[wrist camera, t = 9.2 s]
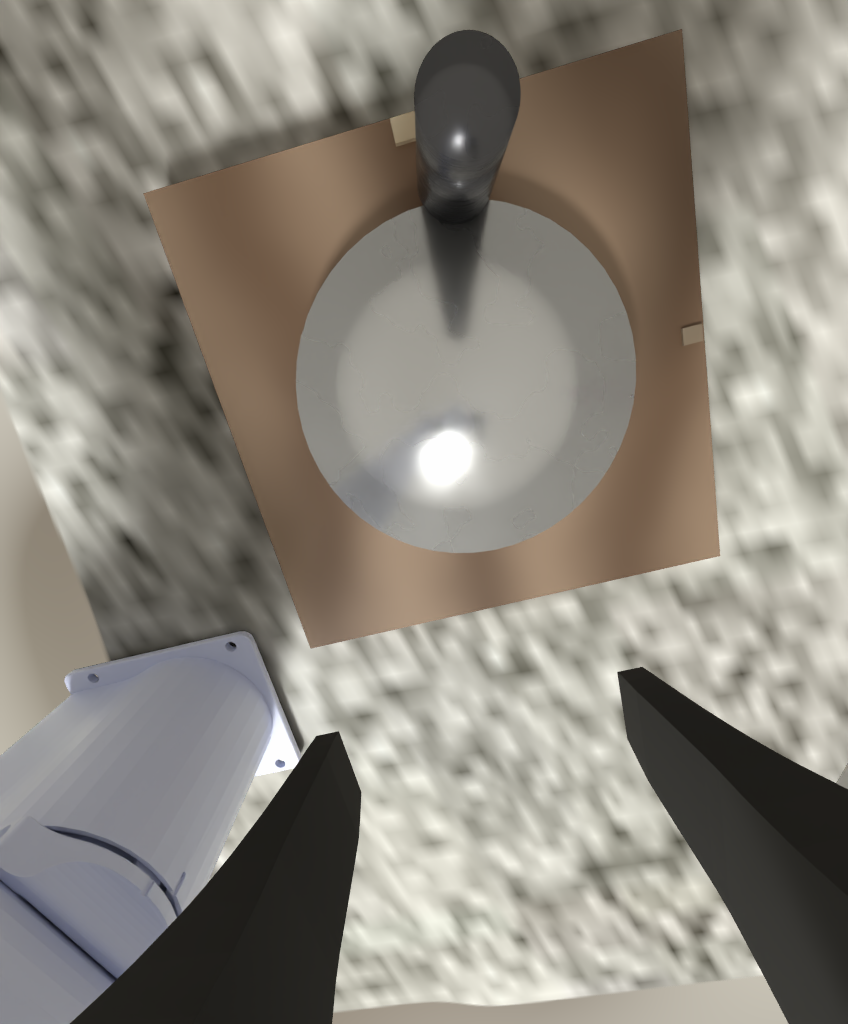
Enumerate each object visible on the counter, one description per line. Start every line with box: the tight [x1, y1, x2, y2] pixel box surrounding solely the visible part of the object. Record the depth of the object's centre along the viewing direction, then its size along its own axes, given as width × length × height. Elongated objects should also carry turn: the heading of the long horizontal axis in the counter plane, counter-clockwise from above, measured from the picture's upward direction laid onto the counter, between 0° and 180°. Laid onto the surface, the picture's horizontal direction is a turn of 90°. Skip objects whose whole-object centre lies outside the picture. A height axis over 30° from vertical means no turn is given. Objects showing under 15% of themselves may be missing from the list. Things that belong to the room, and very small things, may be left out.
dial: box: [296, 30, 636, 553], centre depth 14 cm, size 14×12×5 cm
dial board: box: [143, 29, 720, 648], centre depth 17 cm, size 18×18×2 cm
